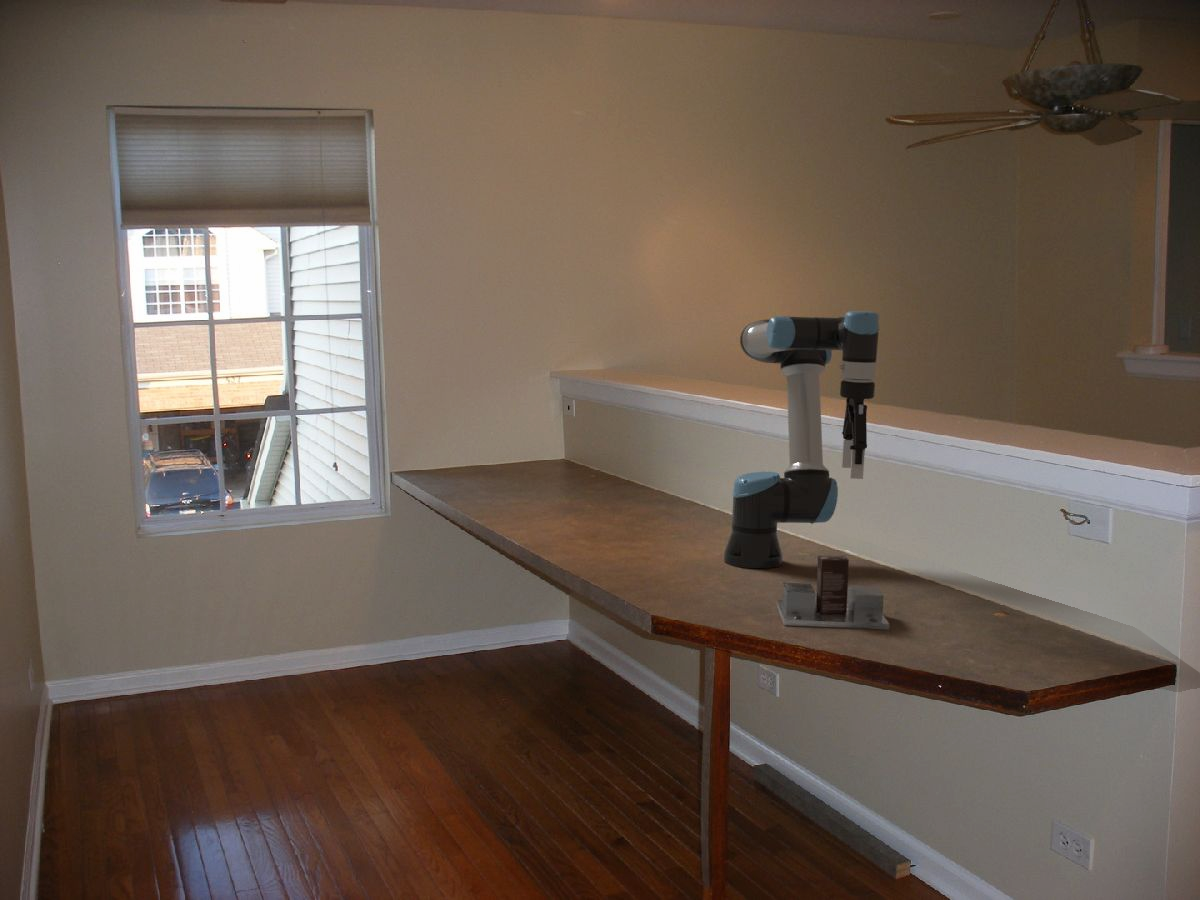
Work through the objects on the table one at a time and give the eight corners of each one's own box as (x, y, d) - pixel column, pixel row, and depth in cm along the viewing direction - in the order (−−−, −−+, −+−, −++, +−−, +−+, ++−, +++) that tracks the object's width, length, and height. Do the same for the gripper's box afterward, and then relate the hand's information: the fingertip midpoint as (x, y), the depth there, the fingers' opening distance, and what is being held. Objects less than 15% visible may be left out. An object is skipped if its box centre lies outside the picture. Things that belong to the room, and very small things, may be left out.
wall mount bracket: (776, 604, 259) (777, 578, 258) (874, 608, 258) (876, 581, 257) (784, 625, 243) (785, 596, 243) (889, 629, 242) (890, 600, 242)
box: (841, 608, 253) (844, 555, 252) (846, 614, 249) (849, 559, 247) (814, 608, 253) (817, 554, 251) (819, 613, 248) (822, 559, 247)
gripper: (833, 374, 271) (828, 462, 275) (849, 385, 247) (842, 482, 250) (866, 375, 271) (860, 464, 274) (884, 386, 246) (877, 483, 250)
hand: (851, 473), depth 262 cm, fingers open, 13 cm apart
